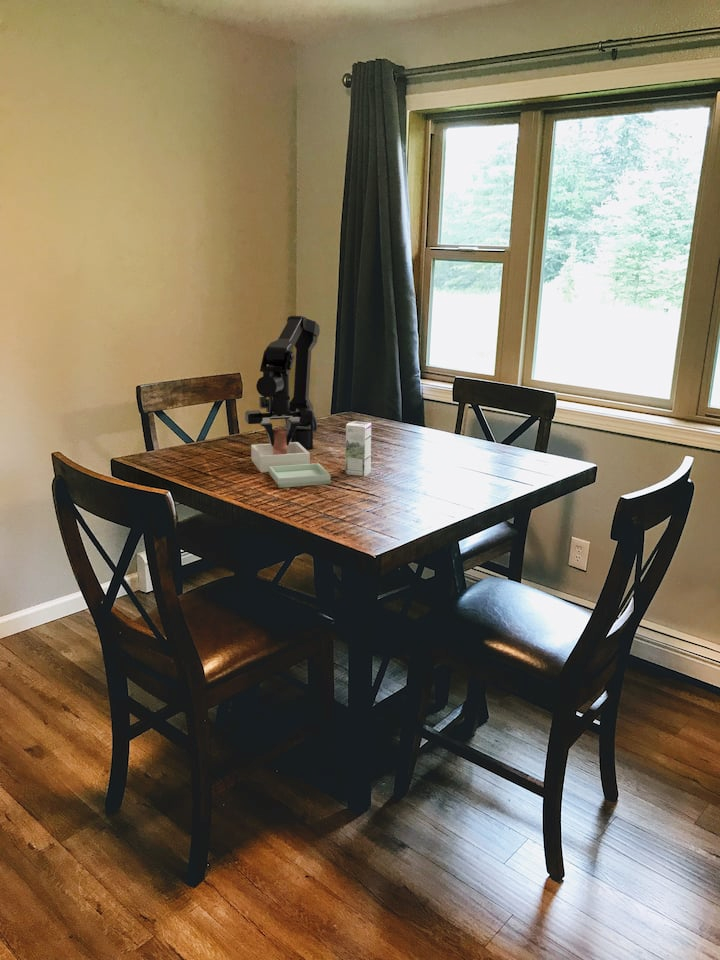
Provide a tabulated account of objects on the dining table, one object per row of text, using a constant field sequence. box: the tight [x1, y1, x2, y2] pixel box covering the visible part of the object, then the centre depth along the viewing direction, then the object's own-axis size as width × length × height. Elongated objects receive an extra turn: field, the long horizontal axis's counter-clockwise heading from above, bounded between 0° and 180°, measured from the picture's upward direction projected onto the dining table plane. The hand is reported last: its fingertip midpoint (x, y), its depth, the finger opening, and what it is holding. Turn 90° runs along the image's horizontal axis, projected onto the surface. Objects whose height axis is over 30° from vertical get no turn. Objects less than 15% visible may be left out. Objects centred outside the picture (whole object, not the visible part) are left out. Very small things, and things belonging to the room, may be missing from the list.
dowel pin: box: [273, 428, 287, 455], centre depth 217 cm, size 4×4×10 cm
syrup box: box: [345, 420, 372, 477], centre depth 210 cm, size 6×6×14 cm
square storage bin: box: [250, 442, 311, 473], centre depth 218 cm, size 14×14×5 cm
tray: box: [268, 462, 332, 489], centre depth 205 cm, size 14×12×2 cm
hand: (279, 445), depth 217 cm, fingers closed on dowel pin, 4 cm apart
